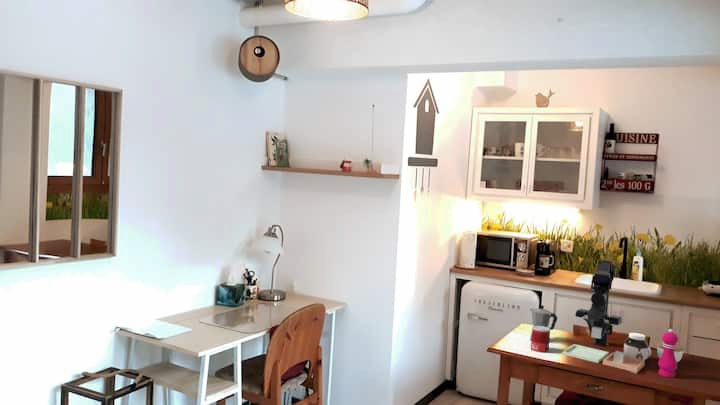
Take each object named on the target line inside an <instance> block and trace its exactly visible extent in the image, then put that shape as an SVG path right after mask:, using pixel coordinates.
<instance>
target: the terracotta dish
mask: <svg viewBox="0 0 720 405" xmlns="http://www.w3.org/2000/svg"><path fill="white" fill-rule="evenodd" d="M613 359H614V352H611V353H609V355H608V356H606V357H605V358H604V359H603V360H602V365H603V366H604V365H605V366H608V367H613V368H616V369H617V368H618V369H621V370H626V371H628V372H629V373H631V374H635V375H637V374H638V373H639V372H641V370H642V369H643V368H644V367H645V363H646V360H641V359H637V358H633V357H628V356H626V358H625V362H624V363H623V364H621V363H617V362H613Z"/></svg>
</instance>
